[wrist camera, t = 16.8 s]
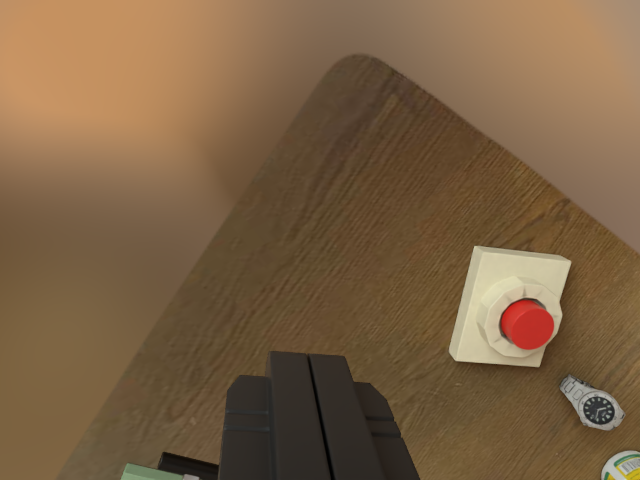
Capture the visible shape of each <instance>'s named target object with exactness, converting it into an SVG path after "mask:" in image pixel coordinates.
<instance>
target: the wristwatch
mask: <svg viewBox="0 0 640 480" xmlns="http://www.w3.org/2000/svg"><path fill="white" fill-rule="evenodd" d="M559 388H560V389H561V391H562V392H563V393H564V394H565V396H566V397H567V398H568V399H569V400H570V402H572V404H573V406H574V408H575V410H576V411H577V413H578V415H579V417H580V419H581V421H582V422H583V424H584V425H585V426H589V427H594V428H598V429H602V430H613V429H614V428H615V427H617V426H618V425H619V424H620V423H621V421H622V420H623V418H624V416H625V412H624V411H623V410H622V409H621V408H620V406H619V405H618V403H617V402H616V400H615V399H614V398H613V397H612V396H611V395H610V394H609V393H607V392H605V391H602V390H597V389H595V388H594V387H593V386H590V384H588V383H587V382H585V381H581V380H580V379H577V378H575V377H574V376H572V375H570V374H569V375H568V376H567V377H566V378H564V379H563V381H562V382H561V384H560V386H559Z"/></svg>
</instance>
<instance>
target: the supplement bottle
mask: <svg viewBox="0 0 640 480" xmlns="http://www.w3.org/2000/svg"><path fill="white" fill-rule="evenodd" d="M601 480H640V452H637V451H632V450H630V451H623V452H620V453H618V454H616V455H614V456H613V457H611V458H610V459H609V460H608V461H607V463H606V464H605V466H604V467H603V470H602V473H601Z"/></svg>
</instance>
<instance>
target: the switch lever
mask: <svg viewBox="0 0 640 480" xmlns="http://www.w3.org/2000/svg"><path fill="white" fill-rule="evenodd" d="M158 470H162V471H167V472H171V473H175V474H179V475H183V476H182V479H181V480H199V479H201V480H218V472H219V465H217V464H213V463H209V462H204V461H200V460H196V459H192V458H188V457H184V456H180V455H176V454H171V453H167V452H163V453H162V455H161V458H160V461H159V464H158Z"/></svg>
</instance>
